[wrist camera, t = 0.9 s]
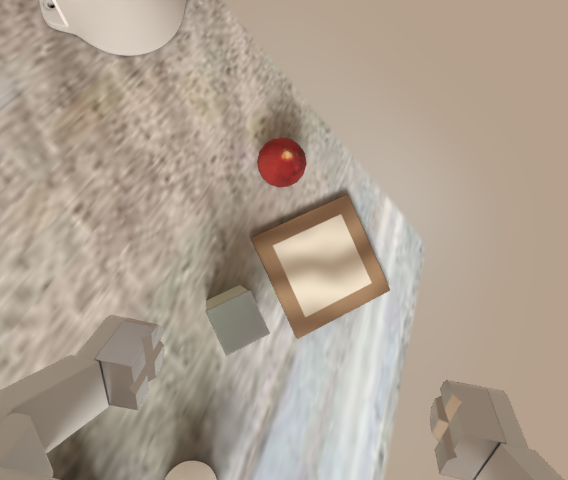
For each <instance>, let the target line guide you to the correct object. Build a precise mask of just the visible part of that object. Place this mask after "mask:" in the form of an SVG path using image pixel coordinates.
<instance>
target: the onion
mask: <svg viewBox="0 0 568 480" xmlns="http://www.w3.org/2000/svg"><path fill="white" fill-rule="evenodd" d="M257 163H258V169H259V172H260V174H261V176H262V177H263V179H264V180H265V181H267V182H268V183H269V184H270V185H273V186H277V187H287V186H290V185H292V184H294V183H296V182H297V181H298V180H299V179H300V178H301V177H302V175H303V174H304V171H305V167H306V158H305V153H304V151H303V150H302V148H301V147H300V146H299V145H298V144H297V143H296V142H294V141H293V140H291V139H287V138H278V139H273V140H271V141H269V142H267V143H266V144H265V145H264V146H263V148H262V149H261V150H260V152H259V156H258V161H257Z"/></svg>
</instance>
